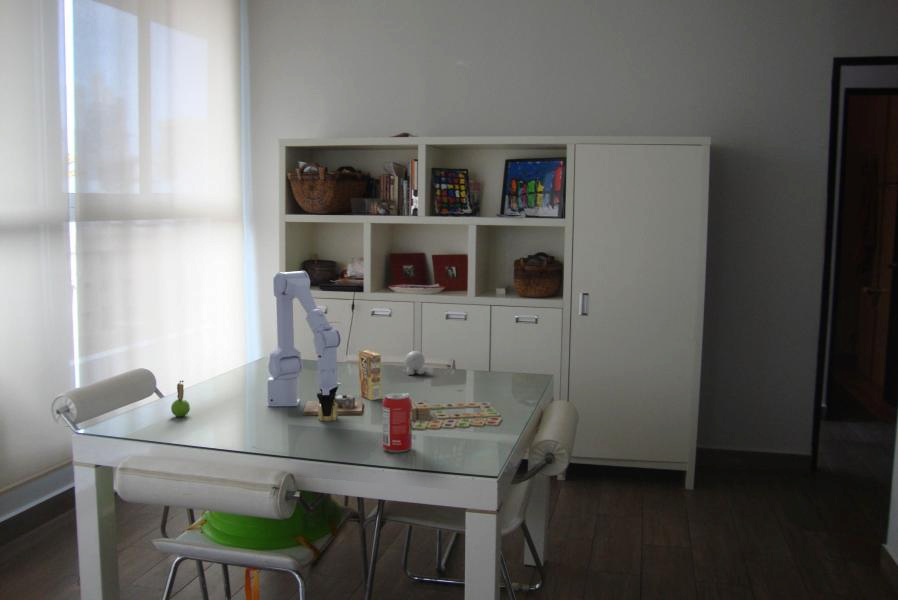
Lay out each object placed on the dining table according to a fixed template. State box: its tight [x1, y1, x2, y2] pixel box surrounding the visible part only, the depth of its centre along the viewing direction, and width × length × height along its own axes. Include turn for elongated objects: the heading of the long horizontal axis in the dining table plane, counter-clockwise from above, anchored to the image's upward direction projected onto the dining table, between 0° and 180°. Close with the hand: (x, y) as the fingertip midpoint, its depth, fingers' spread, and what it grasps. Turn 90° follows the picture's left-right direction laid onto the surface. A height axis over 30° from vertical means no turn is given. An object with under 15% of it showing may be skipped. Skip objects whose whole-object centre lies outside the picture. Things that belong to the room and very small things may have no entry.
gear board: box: [302, 394, 364, 416], centre depth 264 cm, size 18×13×5 cm
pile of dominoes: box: [412, 401, 503, 431], centre depth 256 cm, size 35×27×6 cm
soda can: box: [381, 392, 413, 454], centre depth 222 cm, size 8×8×15 cm
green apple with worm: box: [170, 380, 191, 418], centre depth 254 cm, size 5×6×12 cm
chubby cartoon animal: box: [404, 350, 426, 376], centre depth 320 cm, size 8×12×9 cm, turn 4°
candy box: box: [358, 350, 382, 401], centre depth 280 cm, size 9×4×15 cm, turn 33°
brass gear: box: [317, 402, 339, 422], centre depth 253 cm, size 6×6×4 cm
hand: (328, 412), depth 253 cm, fingers open, 7 cm apart
